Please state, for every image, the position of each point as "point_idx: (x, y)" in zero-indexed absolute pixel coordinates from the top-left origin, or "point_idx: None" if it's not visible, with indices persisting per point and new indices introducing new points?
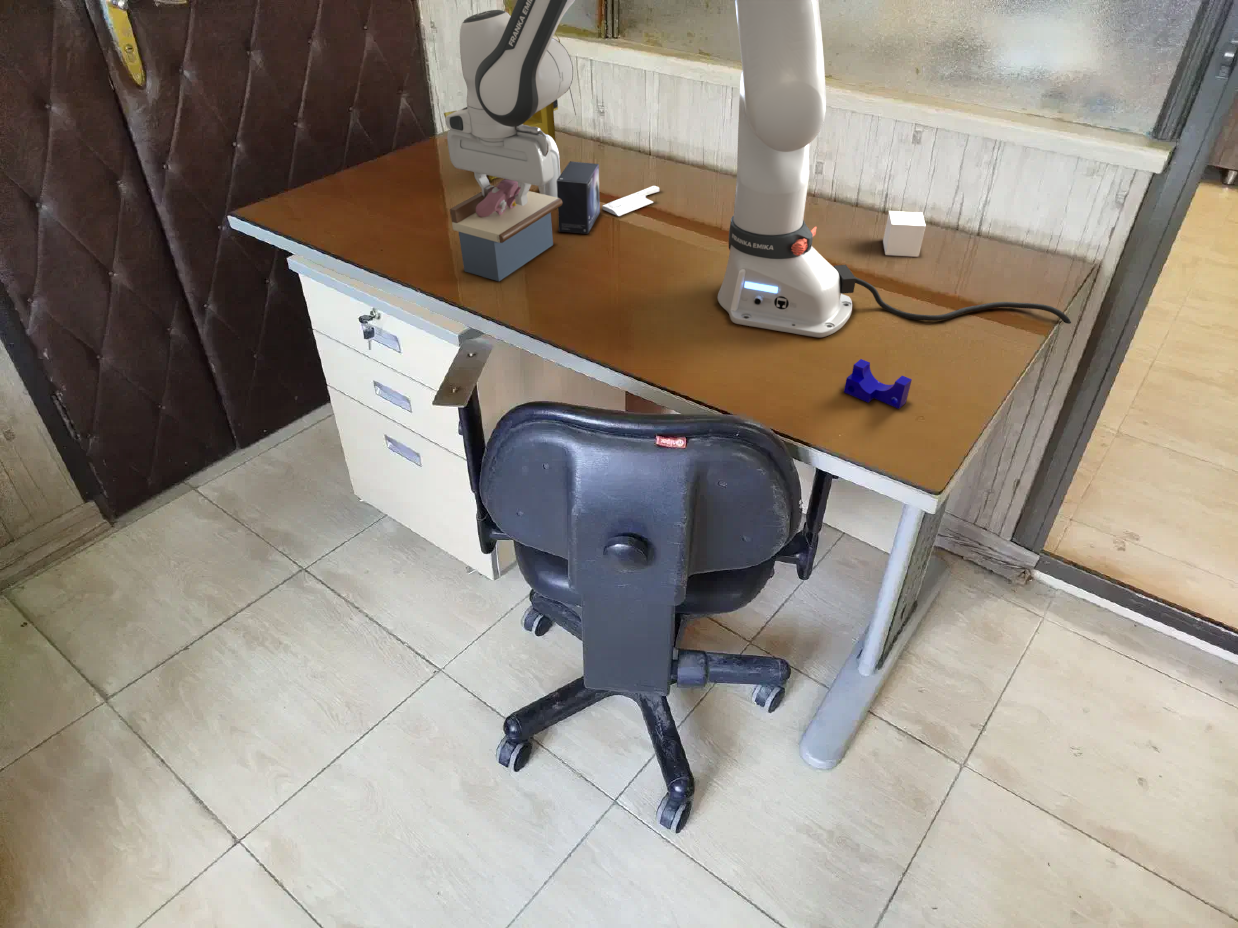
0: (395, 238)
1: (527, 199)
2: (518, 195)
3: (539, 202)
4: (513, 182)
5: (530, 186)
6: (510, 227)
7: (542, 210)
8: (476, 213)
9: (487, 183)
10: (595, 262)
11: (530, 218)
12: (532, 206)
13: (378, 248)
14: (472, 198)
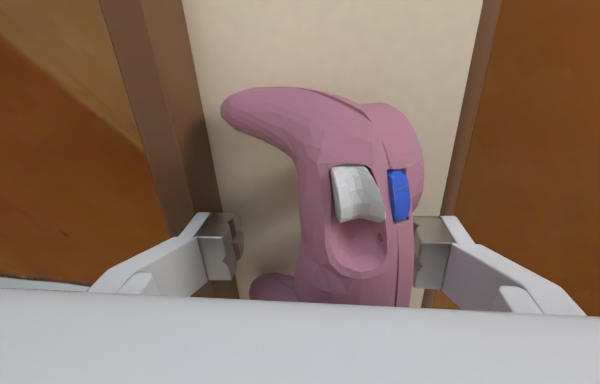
0: (23, 182)
1: (459, 221)
2: (447, 294)
3: (413, 34)
4: (399, 301)
5: (539, 278)
6: (422, 294)
7: (473, 108)
8: (239, 262)
9: (188, 258)
10: (583, 5)
11: (454, 203)
12: (403, 102)
13: (51, 230)
14: (200, 292)
